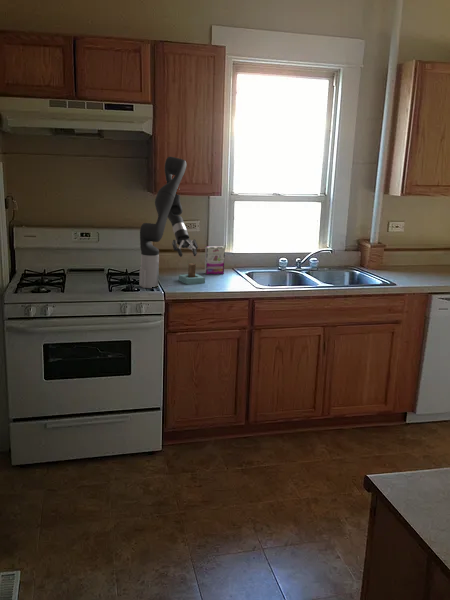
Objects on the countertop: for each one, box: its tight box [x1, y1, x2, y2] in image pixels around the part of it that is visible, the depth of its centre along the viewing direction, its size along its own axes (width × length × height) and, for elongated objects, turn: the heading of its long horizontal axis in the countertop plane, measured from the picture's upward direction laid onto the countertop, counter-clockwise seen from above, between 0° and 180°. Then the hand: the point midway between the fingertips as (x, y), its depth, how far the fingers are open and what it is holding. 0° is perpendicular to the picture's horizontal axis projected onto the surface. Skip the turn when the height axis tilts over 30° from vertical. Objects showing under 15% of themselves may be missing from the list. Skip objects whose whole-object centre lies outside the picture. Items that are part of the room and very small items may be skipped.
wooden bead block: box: [178, 273, 206, 285], centre depth 316 cm, size 11×11×3 cm
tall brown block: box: [187, 262, 197, 278], centre depth 315 cm, size 3×3×10 cm
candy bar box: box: [204, 245, 226, 275], centre depth 339 cm, size 11×5×16 cm, turn 105°
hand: (188, 255), depth 317 cm, fingers open, 8 cm apart
